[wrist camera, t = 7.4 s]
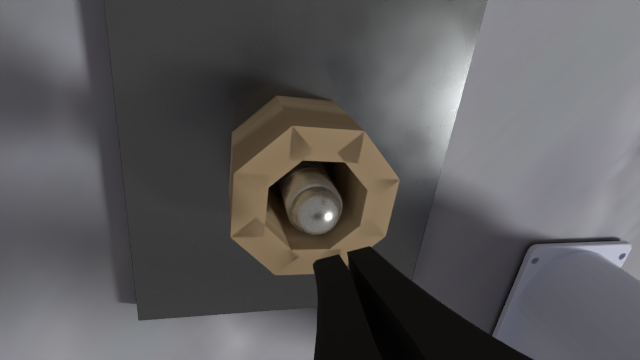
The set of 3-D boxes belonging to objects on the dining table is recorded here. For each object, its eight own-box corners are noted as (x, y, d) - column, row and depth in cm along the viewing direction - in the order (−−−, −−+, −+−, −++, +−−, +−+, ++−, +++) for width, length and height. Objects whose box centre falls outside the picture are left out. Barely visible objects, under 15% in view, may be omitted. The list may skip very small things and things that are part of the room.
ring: (381, 166, 17) (421, 209, 14) (287, 239, 18) (302, 298, 14) (308, 68, 15) (335, 91, 11) (201, 158, 15) (193, 206, 12)
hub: (398, 288, 22) (445, 366, 17) (142, 305, 19) (114, 409, 14) (476, -12, 16) (584, -17, 11) (104, -72, 12) (28, -118, 7)
